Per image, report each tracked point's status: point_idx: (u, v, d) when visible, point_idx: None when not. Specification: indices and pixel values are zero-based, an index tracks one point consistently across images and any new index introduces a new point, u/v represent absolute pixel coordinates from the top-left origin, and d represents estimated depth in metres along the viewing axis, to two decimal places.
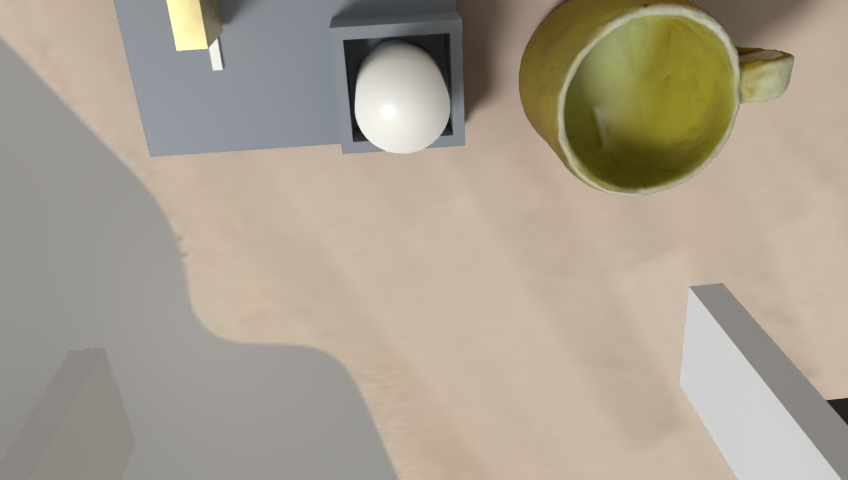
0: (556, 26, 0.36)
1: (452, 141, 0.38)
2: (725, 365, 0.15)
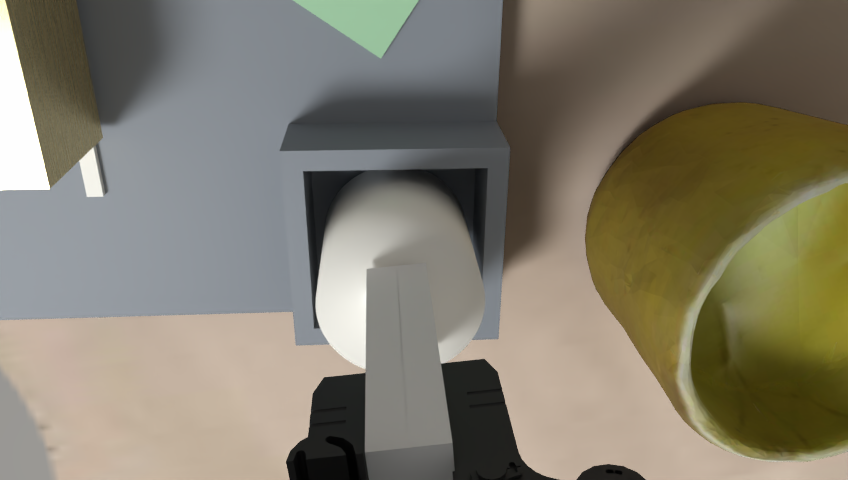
0: (666, 163, 0.21)
1: (478, 332, 0.23)
2: None
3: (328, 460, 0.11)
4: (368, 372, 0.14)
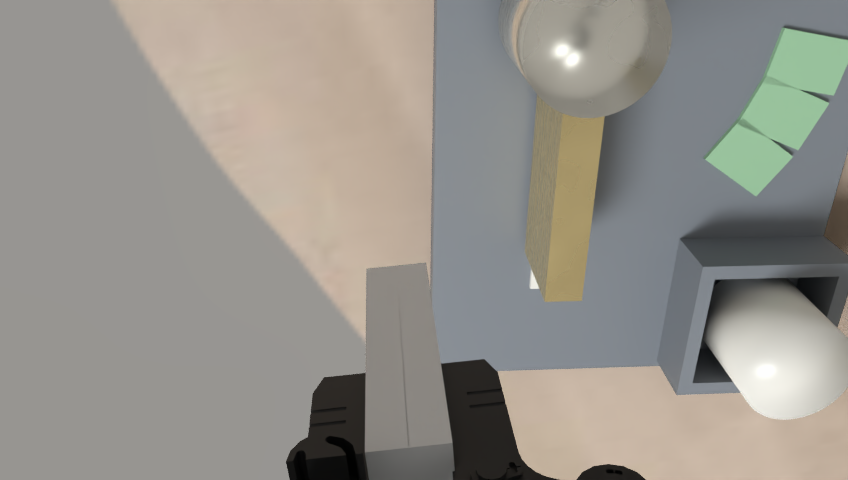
0: None
1: None
2: None
3: (328, 460, 0.11)
4: (368, 372, 0.14)
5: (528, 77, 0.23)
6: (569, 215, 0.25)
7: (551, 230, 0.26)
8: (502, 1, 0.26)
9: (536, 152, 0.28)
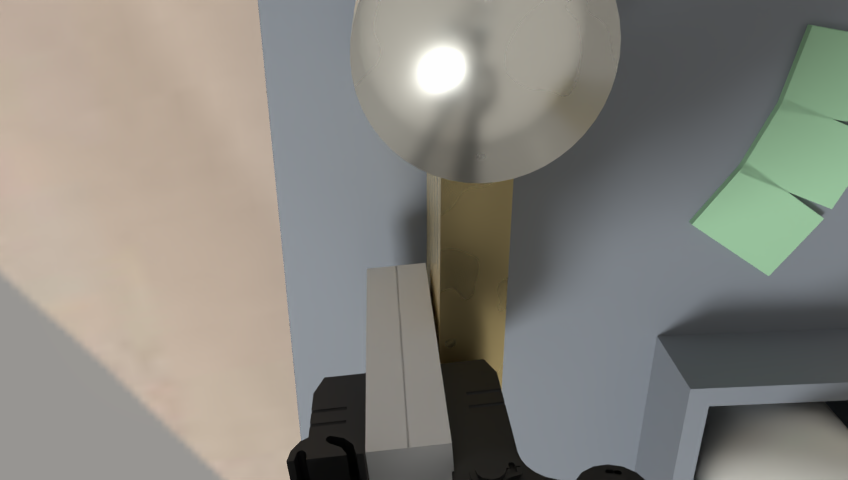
0: None
1: None
2: None
3: (328, 460, 0.11)
4: (368, 372, 0.14)
5: (367, 115, 0.13)
6: (467, 334, 0.15)
7: (439, 357, 0.16)
8: None
9: (428, 222, 0.18)
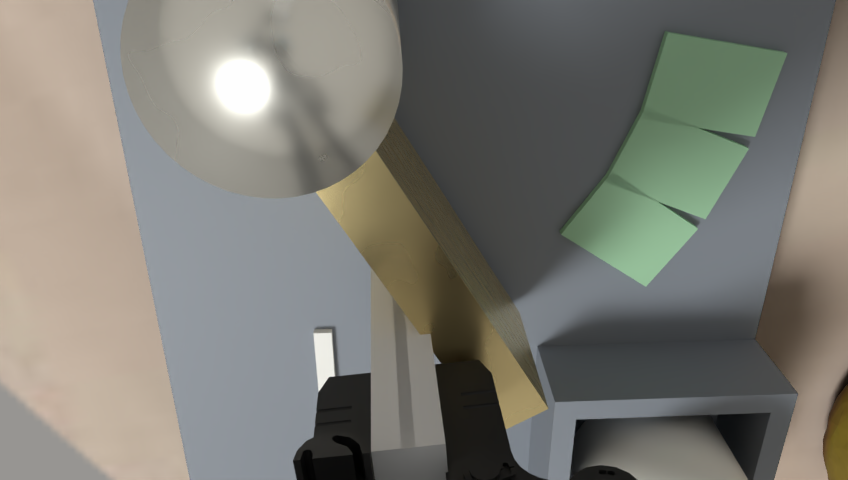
0: None
1: None
2: None
3: (334, 459, 0.11)
4: (373, 371, 0.14)
5: (203, 177, 0.13)
6: (438, 312, 0.15)
7: None
8: None
9: None
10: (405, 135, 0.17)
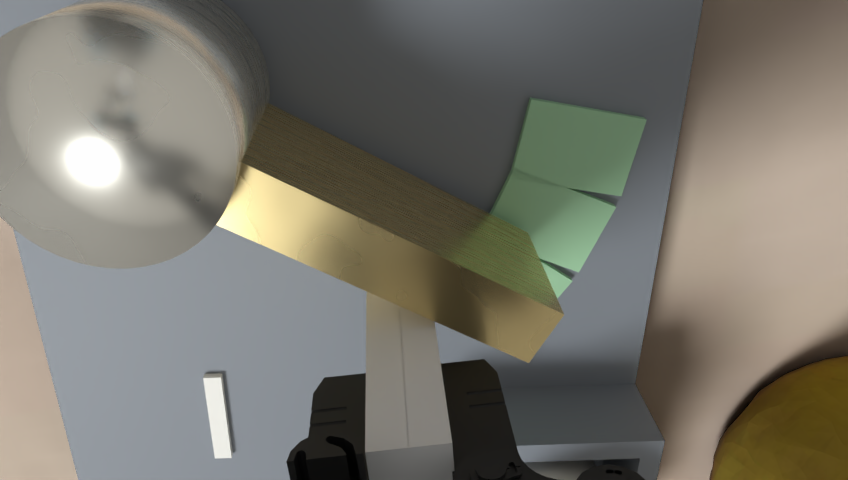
0: (819, 448, 0.21)
1: None
2: None
3: (328, 460, 0.11)
4: (368, 372, 0.14)
5: (117, 266, 0.14)
6: (400, 277, 0.15)
7: (412, 310, 0.15)
8: None
9: None
10: (320, 129, 0.17)
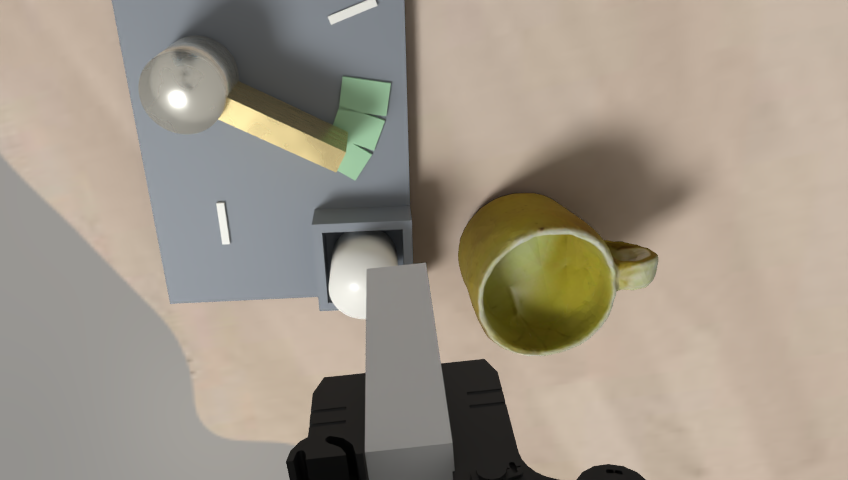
0: (483, 225, 0.47)
1: None
2: None
3: (328, 460, 0.11)
4: (368, 372, 0.14)
5: (186, 133, 0.41)
6: (284, 138, 0.42)
7: (290, 151, 0.42)
8: None
9: None
10: None
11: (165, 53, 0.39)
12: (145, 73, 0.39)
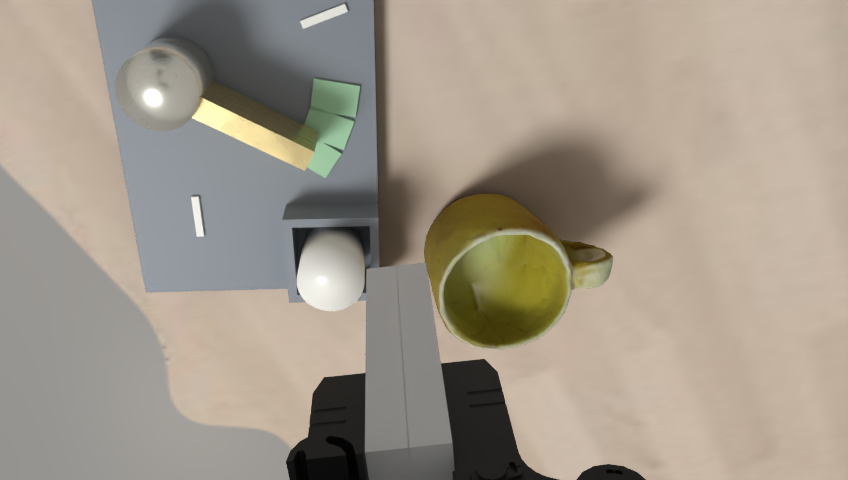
0: (447, 223, 0.50)
1: None
2: None
3: (328, 460, 0.11)
4: (368, 372, 0.14)
5: (161, 130, 0.43)
6: (255, 137, 0.44)
7: (260, 149, 0.44)
8: None
9: None
10: (233, 90, 0.46)
11: (141, 54, 0.41)
12: (122, 72, 0.41)
